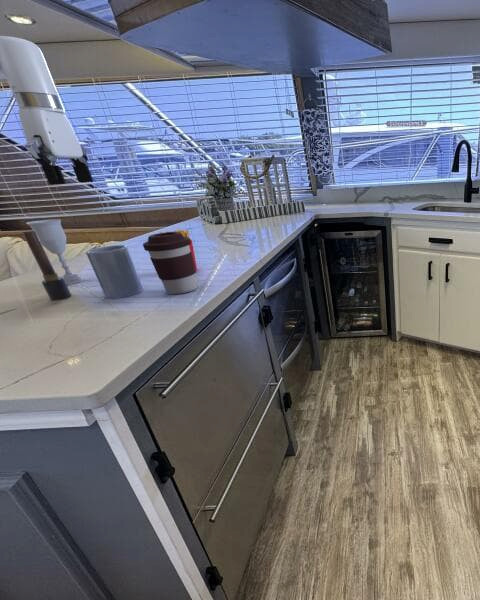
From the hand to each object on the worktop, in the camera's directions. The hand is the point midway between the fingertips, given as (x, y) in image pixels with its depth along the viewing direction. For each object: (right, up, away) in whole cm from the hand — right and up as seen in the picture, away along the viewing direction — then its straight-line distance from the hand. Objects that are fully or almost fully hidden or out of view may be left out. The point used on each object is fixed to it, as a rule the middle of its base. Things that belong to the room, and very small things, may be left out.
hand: (72, 183), depth 81 cm
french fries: (+14, -21, +20) cm, 32 cm away
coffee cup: (+25, -27, +5) cm, 37 cm away
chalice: (-16, -24, +15) cm, 33 cm away
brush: (-6, -29, +3) cm, 30 cm away
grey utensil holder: (+9, -28, +5) cm, 30 cm away
